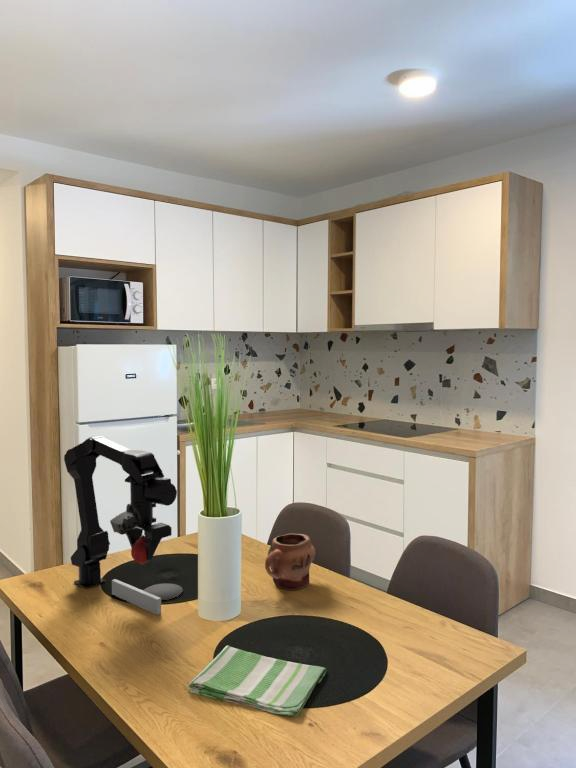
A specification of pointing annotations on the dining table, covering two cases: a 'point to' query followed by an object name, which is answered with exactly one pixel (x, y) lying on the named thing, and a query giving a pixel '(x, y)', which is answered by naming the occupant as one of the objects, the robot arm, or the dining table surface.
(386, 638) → the dining table surface
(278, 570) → the brown clay mug
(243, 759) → the dining table surface
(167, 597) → the rubber mat
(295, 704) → the dish towel
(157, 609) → the low wall
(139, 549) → the onion
